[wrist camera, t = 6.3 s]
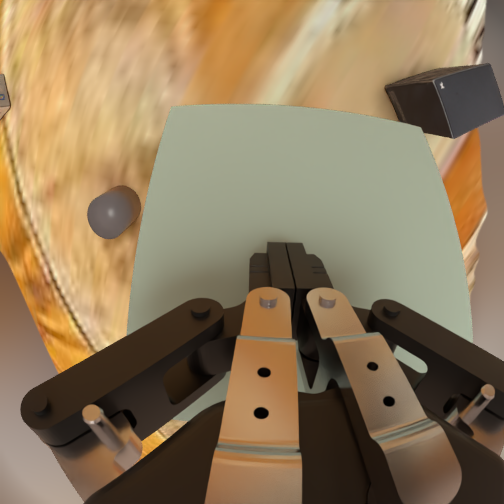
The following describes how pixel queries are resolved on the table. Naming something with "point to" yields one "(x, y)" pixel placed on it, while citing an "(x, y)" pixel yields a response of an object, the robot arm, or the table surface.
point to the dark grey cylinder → (113, 211)
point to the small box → (448, 99)
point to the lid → (297, 214)
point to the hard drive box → (3, 97)
